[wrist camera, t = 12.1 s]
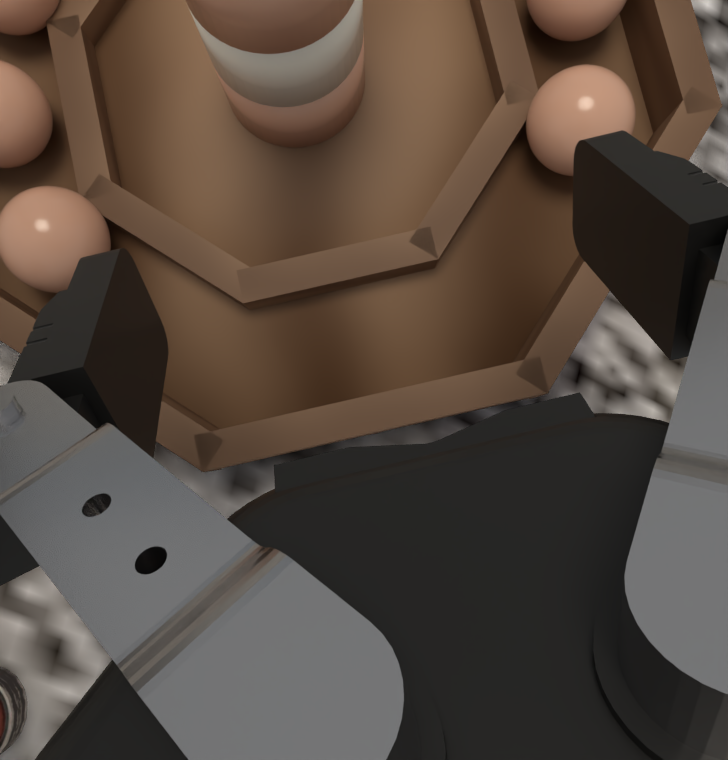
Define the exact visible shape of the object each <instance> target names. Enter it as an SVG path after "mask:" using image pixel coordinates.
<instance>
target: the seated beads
mask: <svg viewBox="0 0 728 760" xmlns="http://www.w3.org/2000/svg"><path fill="white" fill-rule="evenodd" d="M60 1H61V0H0V33H3V34H8V35H14V36H23V35H30V34H33V33H36V32H38V31H40V30H42V29H44V28H45V27H46V26H47V24H46V21H47V20H48V19H49V18H50V17H51V16H52V14H53V13H54V12H55V10H56V8H57V6H58V4H59V2H60ZM626 1H627V0H526V2H527V7H528V10H529V13H530V15H531V17H532V19H533V21H534V22H535V24H536V25H537V26H538V27H539V29H540V30H542V31H543V32H544V33H545V34H547V35H548V36H550V37H552V38H554V39H557V40H561V41H581V40H584V39H588V38H590V37H592V36H595V35H596V34H598V33H600V32H601V31H603V30H604V29H605V28H607V27H608V26H609V25H610V24H611V23H612V22H613V21H614V20H615V19H616V17H617V16H618V15H619V13H620V12H621V10H622V9H623V7H624V5H625V3H626ZM635 117H636V110H635V103H634V99H633V96H632V93H631V91H630V89H629V87H628V86H627V84H626V83H625V82H624V81H623V80H622V79H621V77H619V76H618V75H617V74H616V73H614V72H613V71H611V70H609V69H607V68H604V67H601V66H597V65H590V64H584V65H576V66H572V67H569V68H566V69H564V70H562V71H560V72H558V73H557V74H555V75H553V76H552V77H551V78H549V79H548V80H547V81H546V82H545V83H544V84H543V85H542V86H541V87H540V89H539V90H538V91H537V93H536V94H535V96H534V98H533V100H532V102H531V104H530V107H529V110H528V114H527V120H526V134H527V139H528V143H529V146H530V148H531V150H532V152H533V154H534V155H535V157H536V158H537V159H538V160H539V161H540V163H542V164H543V165H544V166H545V167H547V168H548V169H549V170H551V171H553V172H556V173H558V174H561V175H566V176H573V164H574V151H575V147H576V145H577V143H578V142H579V141H580V140H583V139H588V138H592V137H596V136H600V135H604V134H609V133H613V132H617V131H621V130H623V131H626V132H627V133H629V134H630V135H632V133H633V130H634V125H635ZM52 129H53V117H52V112H51V108H50V104H49V102H48V99H47V97H46V95H45V94H44V92H43V90H42V89H41V88H40V86H39V85H38V84H37V83H36V81H35V80H34V79H32V78H31V77H30V76H29V75H28V74H27V73H26V72H24V71H23V70H21V69H20V68H18V67H16V66H14V65H13V64H10V63H8V62H5V61H2V60H0V168H14V167H19V166H23V165H25V164H27V163H29V162H31V161H33V160H34V159H36V158H37V157H38V156H39V155H40V154H41V153H42V152H43V151H44V150H45V148H46V146H47V145H48V143H49V140H50V138H51V134H52ZM110 250H111V238H110V232H109V228H108V226H107V223H106V221H105V219H104V217H103V216H102V214H101V213H100V211H99V210H98V209H97V208H96V206H95V205H94V204H92V203H91V202H90V201H89V200H88V199H86V198H85V197H84V196H82V195H80V194H79V193H77V192H75V191H72V190H69V189H67V188H63V187H57V186H39V187H34V188H30V189H27V190H25V191H22V192H21V193H19V194H17V195H16V196H15V197H13V198H12V199H11V200H10V201H9V202H8V203H7V204H6V205H5V207H4V208H3V209H2V211H1V213H0V257H1V259H2V261H3V263H4V264H5V266H6V267H7V268H8V270H9V271H10V272H11V273H12V274H13V275H14V276H15V277H16V278H18V279H19V280H20V281H22V282H23V283H25V284H27V285H28V286H30V287H33V288H35V289H38V290H41V291H45V292H52V293H58V292H59V291H63V290H67V289H68V286H69V284H70V281H71V279H72V277H73V274H74V272H75V269H76V267H77V264H78V262H79V260H80V258H82V257H86V256H90V255H94V254H98V253H103V252H107V251H110Z"/></svg>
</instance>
